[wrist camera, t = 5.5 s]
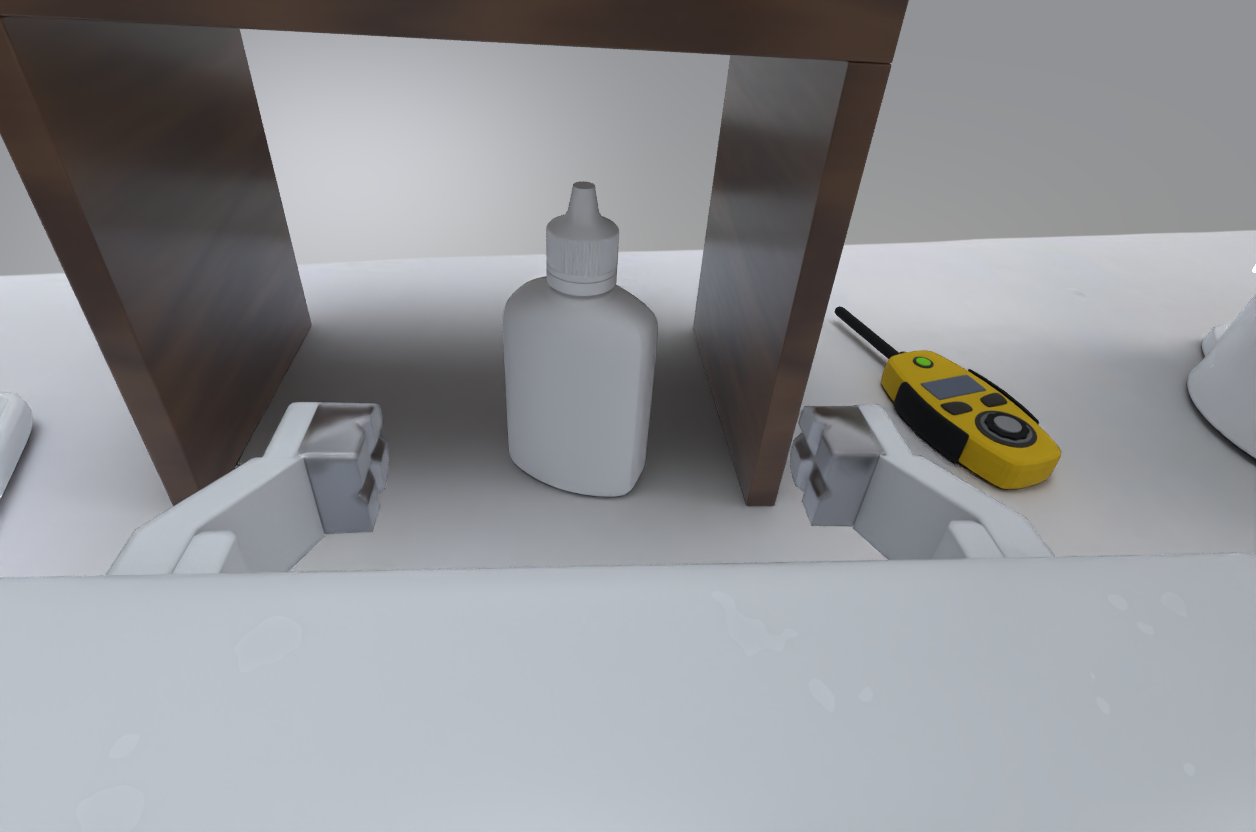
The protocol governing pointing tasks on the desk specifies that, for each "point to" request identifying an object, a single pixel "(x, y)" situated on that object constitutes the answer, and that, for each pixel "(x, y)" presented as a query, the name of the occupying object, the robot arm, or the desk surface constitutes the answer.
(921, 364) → the yellow walkie talkie
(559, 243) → the eye dropper bottle
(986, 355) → the desk surface
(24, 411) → the calculator
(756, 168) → the desk shelf
